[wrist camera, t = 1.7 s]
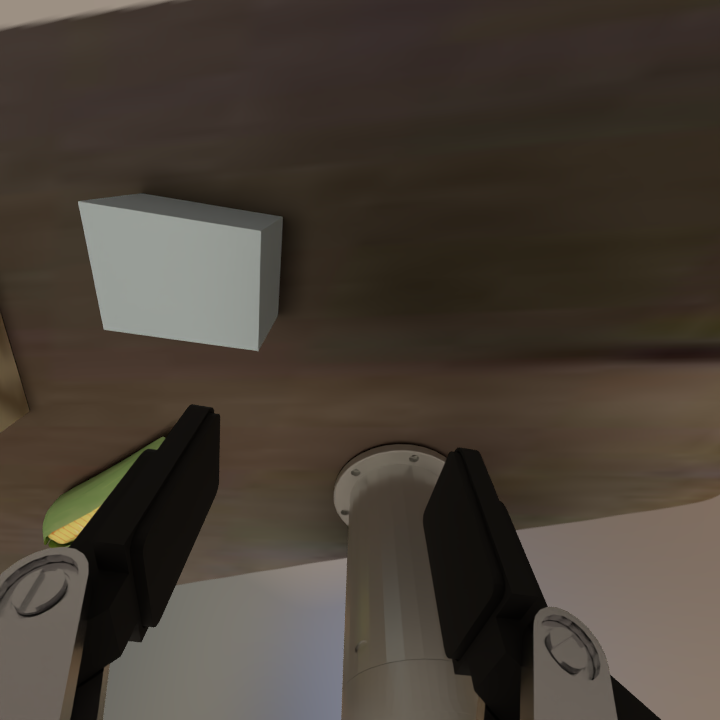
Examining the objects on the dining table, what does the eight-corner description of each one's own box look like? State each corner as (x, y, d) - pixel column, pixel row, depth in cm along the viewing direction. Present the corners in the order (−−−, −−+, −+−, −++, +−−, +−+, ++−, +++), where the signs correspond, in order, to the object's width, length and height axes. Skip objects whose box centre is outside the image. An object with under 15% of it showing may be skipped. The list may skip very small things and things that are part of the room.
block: (278, 314, 27) (258, 350, 22) (155, 296, 26) (103, 329, 21) (283, 216, 24) (260, 230, 18) (143, 193, 23) (77, 201, 18)
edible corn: (50, 496, 37) (12, 537, 33) (186, 409, 31) (161, 445, 27) (93, 524, 39) (62, 565, 35) (228, 446, 33) (209, 485, 29)
